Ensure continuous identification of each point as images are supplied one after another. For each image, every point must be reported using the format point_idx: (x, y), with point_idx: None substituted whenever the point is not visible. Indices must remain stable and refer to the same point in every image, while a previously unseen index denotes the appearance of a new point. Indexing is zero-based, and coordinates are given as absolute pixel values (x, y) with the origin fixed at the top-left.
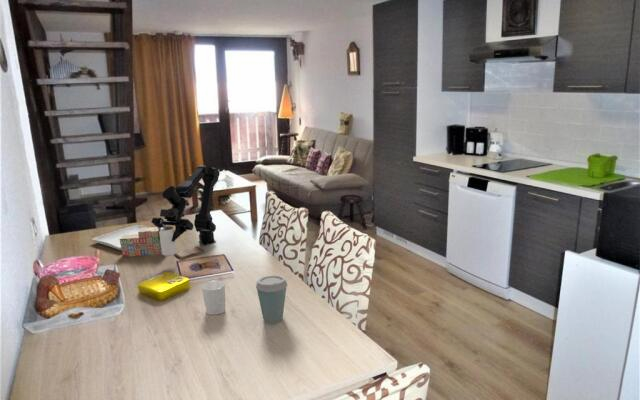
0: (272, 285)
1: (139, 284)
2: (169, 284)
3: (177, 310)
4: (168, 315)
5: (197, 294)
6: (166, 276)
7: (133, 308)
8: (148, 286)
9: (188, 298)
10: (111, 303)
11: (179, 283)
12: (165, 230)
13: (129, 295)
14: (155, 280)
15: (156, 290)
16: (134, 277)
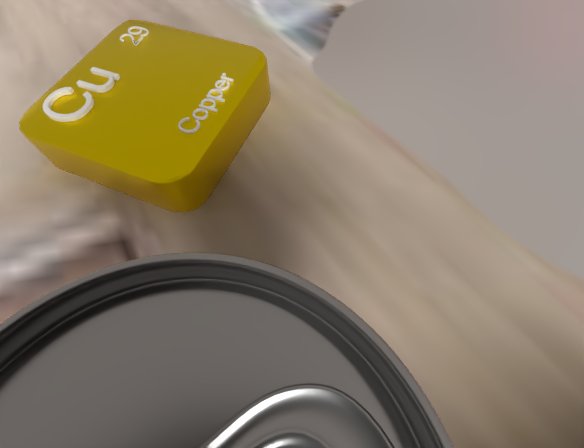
0: None
1: (253, 48)
2: (104, 66)
3: (65, 28)
4: (87, 7)
5: (7, 115)
6: (152, 126)
7: (222, 16)
8: (199, 42)
9: (41, 87)
10: (324, 25)
11: (58, 81)
12: (100, 273)
13: (297, 70)
14: (193, 84)
15: (145, 25)
16: (415, 211)
